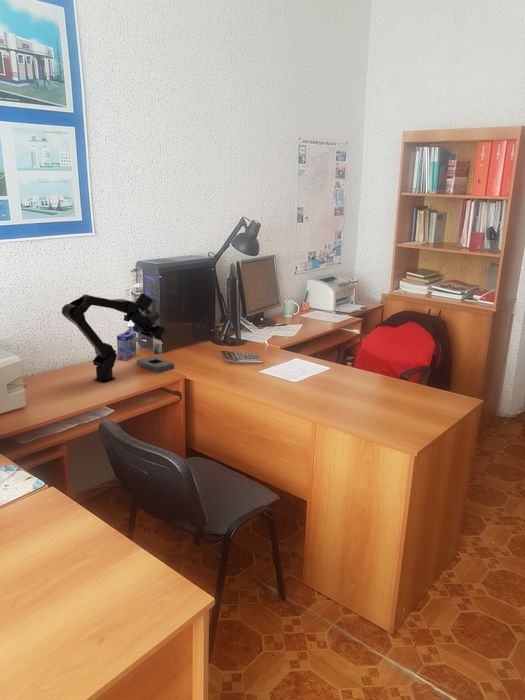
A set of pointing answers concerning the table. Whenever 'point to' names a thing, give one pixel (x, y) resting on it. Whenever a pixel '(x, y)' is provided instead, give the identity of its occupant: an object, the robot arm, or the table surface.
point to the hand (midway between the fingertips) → (159, 339)
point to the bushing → (157, 346)
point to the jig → (155, 364)
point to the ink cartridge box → (126, 345)
